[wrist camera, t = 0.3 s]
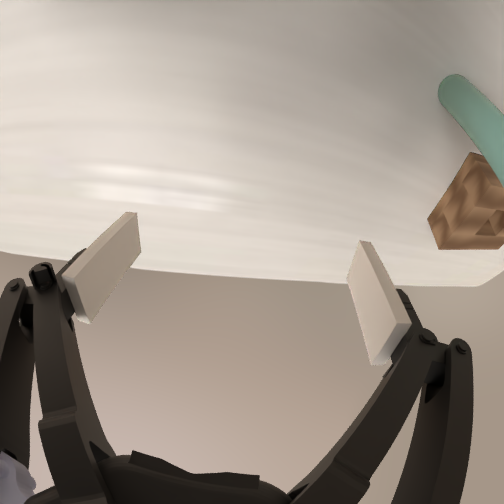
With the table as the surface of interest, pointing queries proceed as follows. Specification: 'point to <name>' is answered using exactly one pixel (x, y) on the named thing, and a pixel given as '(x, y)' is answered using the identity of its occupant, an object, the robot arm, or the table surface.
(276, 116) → the table surface
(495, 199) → the socket block
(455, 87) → the pin
